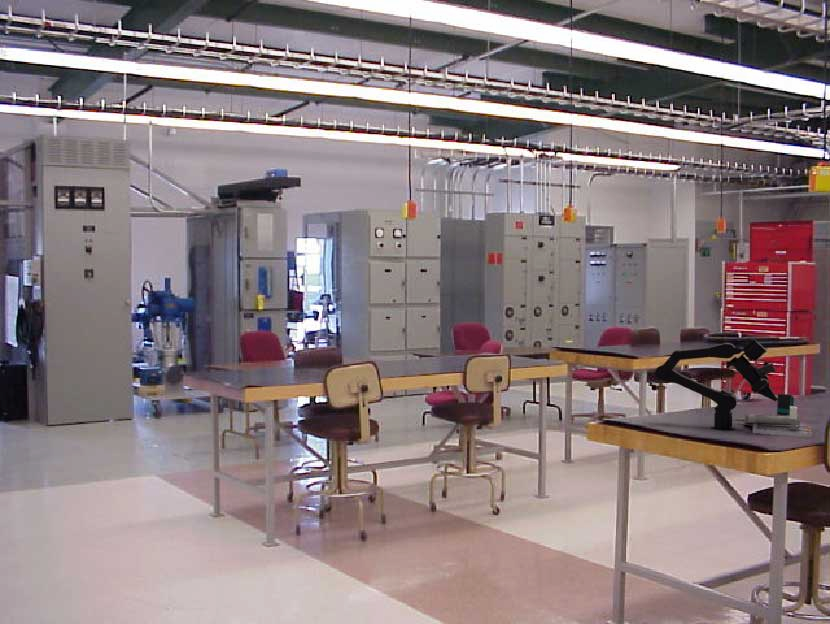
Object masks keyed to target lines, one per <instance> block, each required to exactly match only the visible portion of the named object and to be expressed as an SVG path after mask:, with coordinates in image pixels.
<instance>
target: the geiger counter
mask: <svg viewBox="0 0 830 624" xmlns="http://www.w3.org/2000/svg"><path fill="white" fill-rule="evenodd" d="M754 423H757V425H761V426H791V419H790V416H779V414H778V416H777V415H774V414H773V415H772V412H770V414H769V413H767V414H766V415H765V414H760V415H759V414H745V415H744V416H743V417H737V418H732V424H738V425H744V426H752V427H753V424H754ZM801 423H802V417H801V416H800V415H797V419H796V421H795V426H797V428H801Z"/></svg>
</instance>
